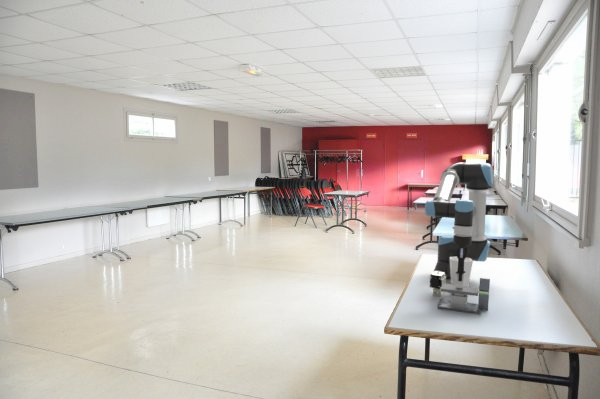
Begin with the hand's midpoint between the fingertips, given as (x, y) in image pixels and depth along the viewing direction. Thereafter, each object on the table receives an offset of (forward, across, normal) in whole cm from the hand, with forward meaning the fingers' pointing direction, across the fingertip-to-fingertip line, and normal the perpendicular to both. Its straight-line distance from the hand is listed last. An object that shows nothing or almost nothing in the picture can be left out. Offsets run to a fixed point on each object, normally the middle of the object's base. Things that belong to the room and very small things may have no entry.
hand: (459, 287), depth 189 cm
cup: (+9, -23, 0) cm, 25 cm away
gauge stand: (+9, 0, +2) cm, 9 cm away
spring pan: (+7, 0, +2) cm, 7 cm away
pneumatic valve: (+9, -14, -10) cm, 19 cm away
